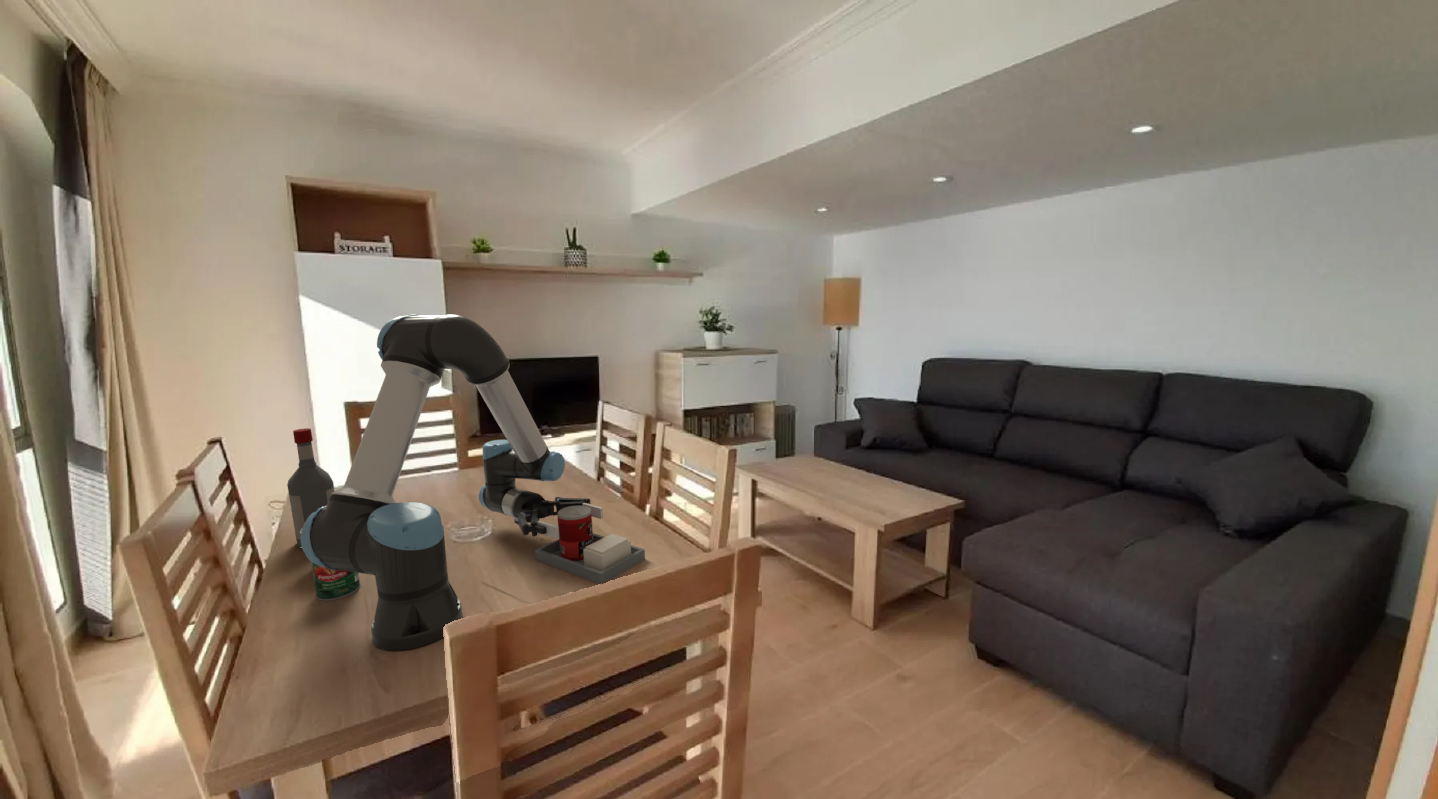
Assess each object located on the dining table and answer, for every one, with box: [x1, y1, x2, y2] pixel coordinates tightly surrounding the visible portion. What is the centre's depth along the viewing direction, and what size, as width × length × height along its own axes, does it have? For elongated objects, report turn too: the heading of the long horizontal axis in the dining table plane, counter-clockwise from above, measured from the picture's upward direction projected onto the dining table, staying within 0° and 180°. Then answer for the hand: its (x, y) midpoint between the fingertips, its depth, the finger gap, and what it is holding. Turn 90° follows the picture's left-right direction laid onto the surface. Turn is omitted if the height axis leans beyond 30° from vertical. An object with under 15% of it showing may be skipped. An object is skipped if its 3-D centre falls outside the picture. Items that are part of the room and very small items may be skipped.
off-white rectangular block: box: [583, 533, 632, 571], centre depth 126 cm, size 6×9×6 cm, turn 146°
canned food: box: [557, 506, 594, 561], centre depth 131 cm, size 8×8×11 cm
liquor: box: [286, 427, 335, 548], centre depth 141 cm, size 9×9×30 cm
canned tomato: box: [310, 561, 361, 601], centre depth 117 cm, size 8×8×11 cm
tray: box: [534, 532, 646, 585], centre depth 129 cm, size 22×14×3 cm, turn 56°
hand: (580, 522), depth 130 cm, fingers open, 13 cm apart
